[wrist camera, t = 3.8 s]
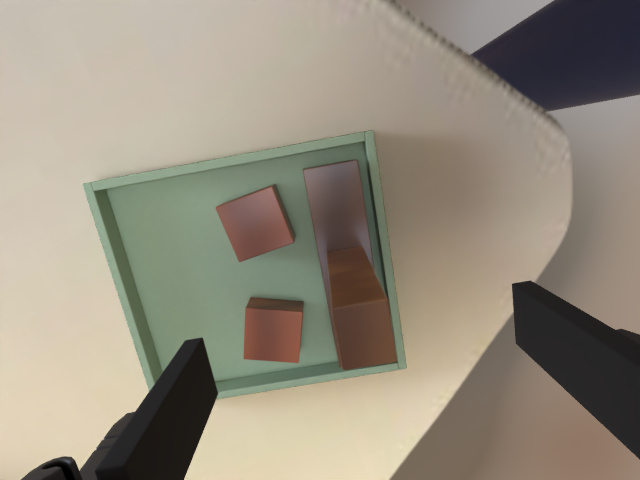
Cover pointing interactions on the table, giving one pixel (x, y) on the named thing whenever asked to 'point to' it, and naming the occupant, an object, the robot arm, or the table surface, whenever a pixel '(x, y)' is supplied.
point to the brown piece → (349, 266)
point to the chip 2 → (273, 330)
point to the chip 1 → (256, 223)
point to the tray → (232, 262)
